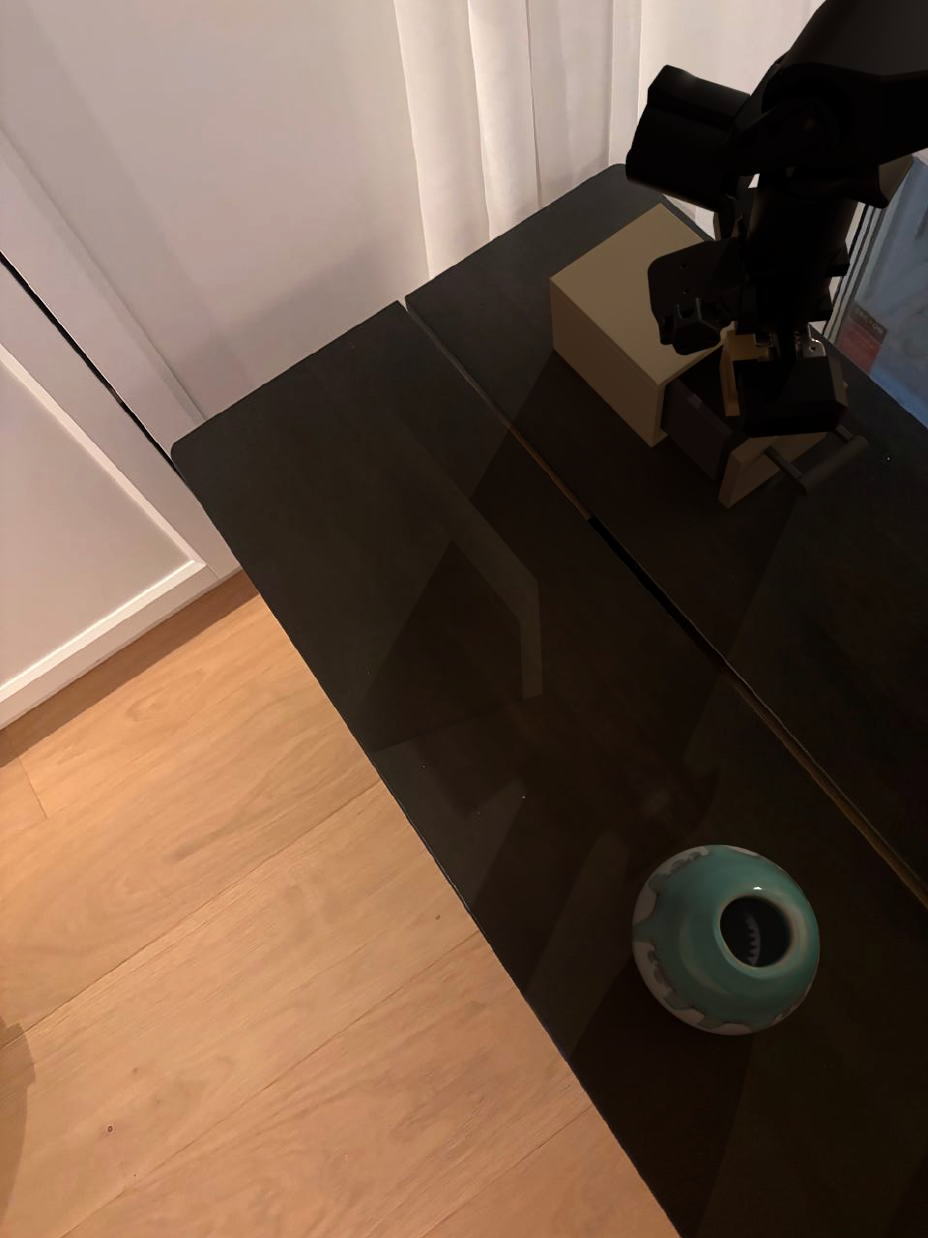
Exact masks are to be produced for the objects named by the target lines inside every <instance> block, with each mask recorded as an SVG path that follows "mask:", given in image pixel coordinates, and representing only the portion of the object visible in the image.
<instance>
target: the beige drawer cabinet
mask: <svg viewBox="0 0 928 1238" xmlns="http://www.w3.org/2000/svg"><path fill="white" fill-rule="evenodd" d="M703 241H704V240H703V238H702V237H700V236H699V235H698V234H696V233H695V232H694V231H693V230H692V229H691V228H690V227H688V226H687V225H686V224H685V223H684V222H683V221H682V220H680V219H679V218H678V217H677V216H675V214H674V213H673V212H671V211H670V210H669V209H668V208H666V206H664V205H663V204H662V203H661V202H659V203H658V204H656V205H655V206H653V207H652V208H651V209H649V210H647V211H646V212H644V213H643V214H641V215H640V216H638V217H637V218H636V219H634V220H633V221H631V222H629V224H627V225H626V226H624V227H622V228H621V229H620V230H618V231H617V232H615V233H614V234H612V235H611V236H609V237H608V238H607V239H604V241H602V242H601V243H599V244H598V245H596V246H595V247H593V248H592V249H590V250H589V251H588V252H586V253H584V254H583V255H582V256H580V257H579V258H578V259H576V260H574V261H573V262H572V263H570V264H569V265H567V266H566V267H564V268H563V269H561V270H559V272H557V273H555V274H554V275H552V276H551V277H550V278H549V279H548V280H549V294H550V297H549V298H550V311H551V327H552V328H551V329H552V345H553V346H552V347H553V350H554V351H556V353H558V355H559V356H560V357H561V358H563V360H564V361H565V362H566V363H567V364H568V365H569V366H570V367H571V368H572V369H573V370H574V371H575V372H576V373H577V374H578V375H579V376H580V377H581V378H582V379H583V380H584V381H585V382H586V383H587V384H588V385H589V386H590V387H591V388H592V389H593V390H594V392H596V393H597V394H598V395H599V396H600V397H601V398H602V400H604V402H605V403H607V404H608V405H609V407H611V408H612V409H613V410H614V412H615V413H616V414H618V416H620V418H621V419H622V420H624V422H625V423H626V424H627V425H628V426H629V427H630V428H631V429H632V430H633V431H634V432H635V433H637V435H638V436H639V437H640V438H641V440H643V441H644V442H645V443H646V444H647V445H648V446H649V447H650V448H653V447H655V446H656V445H657V444H658V443H659V442H661V441H662V440H664V439H665V438H666V437H669V436H668V435H667V434H666V433H665V432H664V431H663V430H662V429H661V428H660V423H661V416H662V408H663V400H664V392H665V385H666V384H668V383H669V382H671V381H672V380H673V379H675V378H676V377H678V376H679V375H680V374H682V373H683V372H685V371H686V370H687V369H689V368H690V367H692V366H693V365H695V364H696V363H697V362H699V361H700V360H702V359H703V358H704V357H706V356H707V355H709V354H710V353H711V352H713V351H714V350H716V349H717V348H718V347H720V346H721V345H723V344H724V341H725V336H726V332H727V330H734V321H732V322H731V324H730V325H729V326H728V327H725V328H723V329H722V330H721V332H720V334H721V341H720V342H719V344H718V345H717V346H715V347H713V348H709V349H706V350H703V351H699V352H696V353H693V354H689V355H686V356H684V355H679V354H677V353H676V352H675V350H674V348H673V346H672V344H670V345H662V344H661V343H660V335H659V326H658V323H657V321H656V319H655V317H654V315H653V313H652V311H651V305H650V295H649V286H648V276H647V271H648V267H649V266H650V264H651V263H652V262H653V261H654V260H655V259H657V258H659V257H661V256H664V255H666V254H669V253H672V252H675V251H678V250H681V249H683V248H686V247H689V246H692V245H695V244H697V243H700V242H703Z"/></svg>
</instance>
